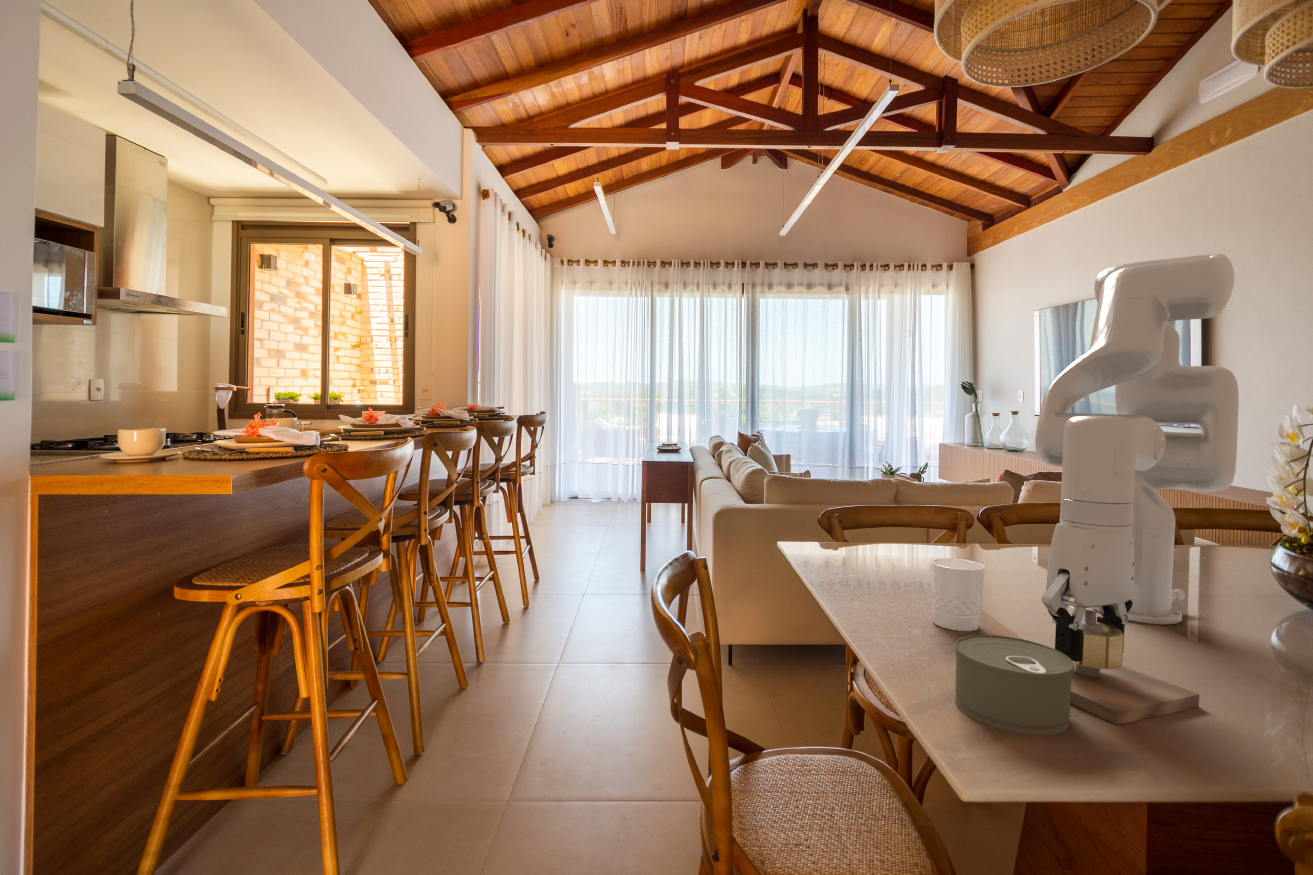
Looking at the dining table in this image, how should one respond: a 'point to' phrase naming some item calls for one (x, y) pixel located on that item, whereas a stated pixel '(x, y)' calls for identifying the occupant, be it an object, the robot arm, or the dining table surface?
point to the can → (1013, 684)
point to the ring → (1102, 648)
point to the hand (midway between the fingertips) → (1088, 653)
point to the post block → (1124, 690)
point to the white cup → (957, 593)
